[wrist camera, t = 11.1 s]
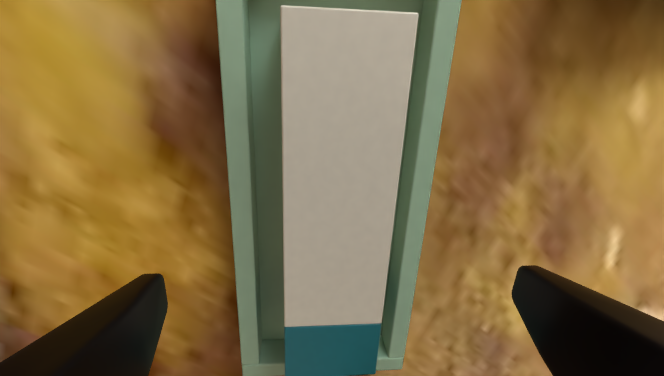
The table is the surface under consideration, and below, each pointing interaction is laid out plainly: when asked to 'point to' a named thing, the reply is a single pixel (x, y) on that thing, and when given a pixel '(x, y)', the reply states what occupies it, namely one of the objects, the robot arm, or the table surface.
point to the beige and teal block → (340, 179)
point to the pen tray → (266, 167)
